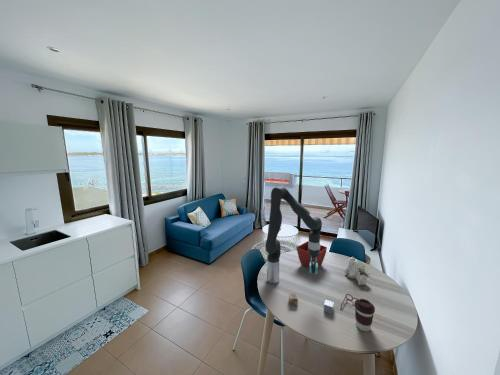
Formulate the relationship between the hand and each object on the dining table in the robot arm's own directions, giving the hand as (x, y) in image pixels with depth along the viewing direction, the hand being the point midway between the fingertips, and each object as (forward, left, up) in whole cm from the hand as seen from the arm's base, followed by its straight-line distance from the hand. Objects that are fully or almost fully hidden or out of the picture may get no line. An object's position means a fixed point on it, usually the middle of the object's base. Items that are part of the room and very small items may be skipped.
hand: (313, 270), depth 137 cm
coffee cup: (+28, -17, -20) cm, 38 cm away
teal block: (0, 0, 0) cm, 0 cm away
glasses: (+25, -4, -20) cm, 32 cm away
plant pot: (-3, +41, -20) cm, 46 cm away
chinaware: (+32, +34, -20) cm, 50 cm away
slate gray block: (+10, -10, -19) cm, 24 cm away
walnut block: (-12, -10, -19) cm, 25 cm away
